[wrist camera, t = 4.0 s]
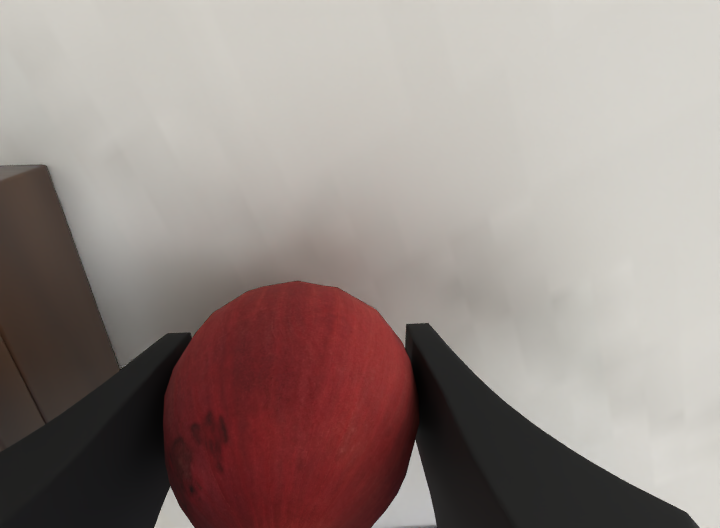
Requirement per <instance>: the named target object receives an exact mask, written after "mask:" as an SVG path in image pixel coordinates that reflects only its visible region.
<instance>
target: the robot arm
mask: <svg viewBox="0 0 720 528" xmlns="http://www.w3.org/2000/svg"><path fill="white" fill-rule="evenodd" d="M191 339H192V337H191V333H168V334H166V335H165V336H163V337H162V338H161V339H159V340H158V341H157V342H155V343H154V344H153V345H152V346H150V347H149V348H148V349H146V350H145V351H144V352H143V353H141V354H140V355H139V356H138V357H136V358H135V359H134V360H133V361H131V362H130V363H129V364H127V365H126V366H125V367H124V368H122V369H121V370H120V371H119V372H117V373H116V374H115V375H113V376H112V377H111V378H110V379H108V380H107V381H106V382H104V383H103V384H102V385H100V386H99V387H98V388H96V389H95V390H93V391H92V392H91V393H89V394H88V395H87V396H85V397H84V398H82V399H81V400H80V401H78V402H77V403H75V404H74V405H73V406H71V407H70V408H69V409H67V410H66V411H64V412H63V413H62V414H60V415H59V416H57V417H56V418H54V419H53V420H51V421H50V422H48V423H47V424H45V425H44V426H42V427H40V428H39V429H37V430H36V431H34V432H32V433H31V434H29V435H28V436H26V437H24V438H23V439H21V440H20V441H18V442H16V443H15V444H13V445H11V446H10V447H8V448H6V449H5V450H3V451H1V452H0V528H154V526H155V524H156V521H157V518H158V515H159V513H160V510H161V507H162V505H163V502H164V500H165V497H166V495H167V493H168V490H169V488H170V482H169V478H168V473H167V469H166V464H165V451H164V431H163V415H164V395H165V392H166V389H167V386H168V383H169V380H170V377H171V374H172V371H173V368H174V366H175V365H176V363H177V362H178V360H179V359H180V357H181V355H182V354H183V352H184V351H185V349H186V347H187V346H188V344H189V343H190V341H191ZM405 350H406V352H407V354H408V357H409V359H410V361H411V365H412V369H413V374H414V378H415V382H416V386H417V391H418V395H419V426H418V430H417V434H416V438H415V440H416V443H417V447H418V451H419V454H420V458H421V461H422V465H423V469H424V472H425V476H426V480H427V483H428V487H429V491H430V495H431V499H432V503H433V508H434V513H435V518H436V524H437V528H699V526H698V525H697V524H696V523H695V522H694V520H693V519H692V518H691V517H690V516H689V515H688V514H687V512H685V511H683V510H681V509H679V508H677V507H675V506H673V505H671V504H669V503H667V502H665V501H663V500H661V499H659V498H657V497H655V496H653V495H651V494H649V493H647V492H645V491H643V490H641V489H639V488H637V487H635V486H633V485H631V484H629V483H627V482H626V481H624V480H622V479H620V478H618V477H617V476H615V475H613V474H611V473H610V472H608V471H606V470H604V469H603V468H601V467H599V466H597V465H596V464H594V463H592V462H590V461H589V460H587V459H586V458H584V457H582V456H581V455H579V454H577V453H576V452H574V451H573V450H571V449H569V448H568V447H566V446H565V445H563V444H562V443H560V442H559V441H558V440H556V439H555V438H553V437H552V436H550V435H549V434H547V433H546V432H544V431H543V430H541V429H540V428H538V427H537V426H536V425H534V424H533V423H532V422H530V421H529V420H528V419H526V418H525V417H524V416H522V415H521V414H520V413H519V412H517V411H516V410H515V409H513V408H512V407H511V406H510V405H508V404H507V403H506V402H505V401H504V400H502V399H501V398H500V397H499V396H498V395H497V394H496V393H494V392H493V391H492V390H491V389H490V388H489V387H488V386H487V385H486V384H485V383H484V382H483V381H482V380H480V379H479V378H478V377H477V376H476V375H475V374H474V373H473V372H472V371H471V370H470V369H469V368H468V366H467V365H466V364H465V363H464V362H463V361H462V360H461V359H460V358H459V357H458V356H457V355H456V354H455V353H454V352H453V351H452V349H451V348H450V347H449V346H448V345H447V344H446V343H445V342H444V340H443V339H442V338H441V337H440V336H439V335H438V333H437V332H436V331H435V330H434V329H433V328H432V326H430V325H429V324H428V323H421V324H406V341H405Z"/></svg>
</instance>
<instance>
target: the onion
mask: <svg viewBox="0 0 720 528" xmlns="http://www.w3.org/2000/svg"><path fill="white" fill-rule="evenodd" d="M418 426H419V395H418V391H417V386H416V382H415V378H414V374H413V369H412V365H411V361H410V359H409V357H408V354H407V352H406V350H405V348H404V345H403V343H402V341H401V340H400V339H399V337H398V336H397V335H396V334H395V332H394V331H393V330H392V329H391V327H390V326H389V325H388V324H387V322H386V321H385V320H384V319H383V317H382V316H381V315H380V314H379V312H378V311H377V310H376V309H374V308H372V307H371V306H369V305H367V304H365V303H364V302H362V301H360V300H358V299H357V298H355V297H353V296H351V295H350V294H348V293H346V292H344V291H343V290H341V289H339V288H337V287H330V286H323V285H317V284H312V283H307V282H301V281H293V282H287V283H281V284H275V285H269V286H263V287H260V288H257V289H253V290H250V291H247V292H245V293H244V294H242V295H241V296H239V297H237V298H236V299H234V300H233V301H231V302H229V303H228V304H226V305H225V306H223V307H221V308H220V309H218V310H216V311H215V312H213V313H212V314H211V315H210V317H209V318H208V319H207V320H206V321H205V322H204V324H203V325H202V326H201V327H200V328H199V329H198V331H197V332H196V333H195V335H194V336H193V338H192V339H191V341H190V343H189V344H188V346H187V347H186V349H185V351H184V352H183V354H182V355H181V357H180V359H179V360H178V362H177V363H176V365H175V366H174V368H173V371H172V374H171V377H170V380H169V383H168V386H167V389H166V392H165V395H164V415H163V431H164V451H165V464H166V469H167V473H168V478H169V482H170V486H171V488H172V490H173V493H174V495H175V497H176V499H177V501H178V503H179V506H180V507H181V509H182V510H183V512H184V513H185V515H186V516H187V517H188V519H189V520H190V522H191V523H192V525H193V526H194V527H195V528H371V527H372V526H373V525H374V523H375V522H376V521H377V520H378V519H379V518H380V517H381V515H382V514H383V513H384V512H385V511H386V509H387V508H388V506H389V505H390V504H391V502H392V501H393V499H394V498H395V496H396V495H397V493H398V491H399V489H400V487H401V485H402V483H403V480H404V478H405V476H406V473H407V469H408V465H409V461H410V457H411V453H412V450H413V446H414V442H415V438H416V434H417V430H418Z"/></svg>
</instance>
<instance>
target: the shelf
mask: <svg viewBox="0 0 720 528" xmlns="http://www.w3.org/2000/svg"><path fill="white" fill-rule="evenodd" d="M119 371H120V369H119V366H118V363H117V361H116V358H115V355H114V352H113V350H112V347H111V344H110V341H109V338H108V336H107V333H106V330H105V327H104V325H103V322H102V319H101V316H100V313H99V311H98V308H97V305H96V302H95V300H94V297H93V294H92V291H91V288H90V286H89V283H88V280H87V277H86V274H85V272H84V269H83V266H82V263H81V261H80V258H79V255H78V252H77V249H76V247H75V244H74V241H73V238H72V236H71V233H70V230H69V227H68V224H67V222H66V219H65V216H64V213H63V211H62V208H61V205H60V202H59V199H58V197H57V194H56V191H55V188H54V186H53V183H52V180H51V177H50V174H49V172H48V169H47V167H46V166H44V165H16V166H0V452H1V451H3V450H5V449H6V448H8V447H10V446H11V445H13V444H15V443H16V442H18V441H20V440H21V439H23V438H24V437H26V436H28V435H29V434H31V433H32V432H34V431H36V430H37V429H39V428H40V427H42V426H44V425H45V424H47V423H48V422H50V421H51V420H53V419H54V418H56V417H57V416H59V415H60V414H62V413H63V412H64V411H66V410H67V409H69V408H70V407H71V406H73V405H74V404H75V403H77V402H78V401H80V400H81V399H82V398H84V397H85V396H87V395H88V394H89V393H91V392H92V391H93V390H95V389H96V388H98V387H99V386H100V385H102V384H103V383H104V382H106V381H107V380H108V379H110V378H111V377H112V376H113V375H115V374H116V373H117V372H119Z"/></svg>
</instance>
